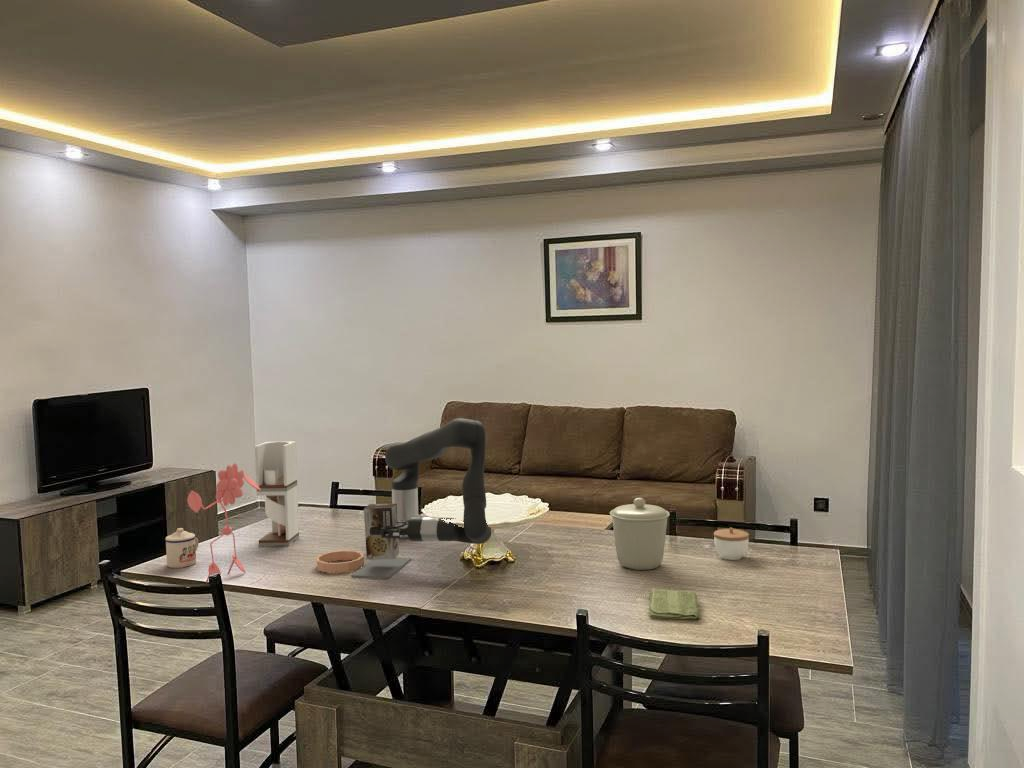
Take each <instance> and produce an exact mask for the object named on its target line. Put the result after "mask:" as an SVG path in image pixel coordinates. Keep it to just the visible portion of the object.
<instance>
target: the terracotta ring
mask: <svg viewBox="0 0 1024 768" xmlns="http://www.w3.org/2000/svg"><path fill="white" fill-rule="evenodd" d="M315 560H316V562H315V564H316V570H319V571H318V572H320V571H322V572H321V573H323V572H327V573H326V574H342V573H343V572H345V573H351V572H353V571H357V570H359V569H360V568H361V567H363V566H364V565H365V556H364V553H363V552H361V551H357V550H346V549H345V550H343V549H342V550H335V551H329V552H326V553H321V554H320V555H318V556H316V557H315ZM337 560H342V562H341V561H340V562H338V561H337ZM349 560H352V561H349ZM330 561H333V562H330ZM327 562H329V563H327ZM329 572H330V573H329Z"/></svg>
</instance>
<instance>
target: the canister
mask: <svg viewBox="0 0 1024 768" xmlns="http://www.w3.org/2000/svg"><path fill="white" fill-rule="evenodd" d="M609 515H610V517H612V528H613V536H614V537H613V538H614V545H615V551H616V556H617V560H618V563H619V564H620V566H621V567H624V568H627V569H630V570H636V571H637V570H638V571H646V570H647V571H649V570H653V569H656V568H659V567H660V565H661V564H662V563H663V559H664V552H665V545H666V534H667V524H668V518H669V516H670V512H669V511H668V510H666V509H665V508H663V507H661V506H659V505H654V504H647V503H646V500H645V499H644V498H643V497H636V498H634V500H633V503H632V504H631V503H630V504H623V505H619V506H617V507H615V508H614V509H611V511H609Z"/></svg>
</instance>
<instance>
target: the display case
mask: <svg viewBox="0 0 1024 768" xmlns="http://www.w3.org/2000/svg"><path fill="white" fill-rule="evenodd" d="M254 458H255V461H254V463H255V481H256V482H255V483H256V484H257V485H258V486H259V488H260V489H261V491H260V490H258V489H256V497H258V496H260V497H262V496H264V507H265V510H264V511H265V515H266V517H267V518H268V519H270V520H271V531H269V532H268V533H267V534H265V535H264V536H263V537H261V538H260V539H258V547H274V546H273V545H277V546H276V547H279V546H278V545H285V546H284V547H287V546H286V545H289V546H291V545H292V544H293V543H294V542H295V541H297V540H298V539H299V538H300V525H299V522H300V521H299V518H300V517H299V496H298V467H297V466H298V465H297V442H296V441H265V442H262V443H260V444H257V445H255V446H254ZM298 537H299V538H298ZM297 538H298V539H297ZM296 539H297V540H296ZM294 540H295V541H294ZM293 541H294V542H293ZM292 542H293V543H292ZM291 543H292V544H291ZM290 544H291V545H290Z"/></svg>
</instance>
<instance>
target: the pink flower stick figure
mask: <svg viewBox="0 0 1024 768" xmlns="http://www.w3.org/2000/svg"><path fill="white" fill-rule="evenodd" d="M225 468H226V469H225V470H224V469H222V470H219V471H218V472H217V473H218V474H217V477H218V479H219V481H218V483H216V489H217V490H216V493H215V499H216V500H215V501H214V502H212V503H210V504H209V505H208V506H206V507H204V505H203V503H202V502H203V500H202V498H201V496H200V494H199V493H198V492H196V491H194V490H191V491H190V492H189V493H188V496H187V505H188V507H189V508H190V509H191V510H192V511H193V512H194V513H196V514H198V513H199V512H200V509H201V508H202V510H203V511H206V510H207V509H209V508H210V507H213V506H214V505H216V504H217V503H219V504H220V505H221V507H222V509H223V511H224V515H225V520H226V526H224V527H223V528H222V530H221V532H222V534H220V536H218V537H217V538H216V539H214V540H213V541H211V542H210V543H209V545H210V553H211V563H210V564H209V565H208V575H207V578H206V581H205V583H206V584H208V582H209V580H208V578H209V576H210V575H212V574H214V573H219V574H220V575H221V576H222V572H221V569H220V567H219V566H218V565H217V563H215V562H214V554H213V545H212V544H214V542H216V541H217V540H219V539H220V538H222V537H223V536H229V535H232V538H233V539H232V540H233V549H234V550H233V551H234V554H232V555H231V557H232V561H231V564H230V567H229V568H228V572H227V574H228V575H229V574H230V573H231V571H232V568H233V565H234V564H235V565H236V566H237V568H238V569H240V571H241V572H243V573H244V574H246V573H247V572H246V570H245V567H244V565H243V563H242V562H241V560H240V559H239V558H238V557H237V553H236V552H237V551H236V541H235V539H236V538H235V534H234V532H233V529H232V527H231V526H229V518H228V512H227V509H226V508H225V507H227V506H229V504H230V505H234V504H235V503H236V499H237V498H242V497H243V495H244V492H243V490H242V487H243V486H244V484H245V481H246V483H248V484H249V485H250V486H251V487H253V488H254V489H255V490H257V489H258V490H260V491H261V489H260V488H259V486H258V485H257V484H256V482H255V481H254V480H253V479H252V478H251V477H249V476H248V475H246V474H245V472H244V470H243V469H241V470H239V467H238V464H237V463H236V462H235V463H233V465H230V464H229V465H227V466H226V467H225ZM263 573H265V571H263ZM209 579H210V578H209ZM242 587H243V585H241V586H240V588H242Z"/></svg>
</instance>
